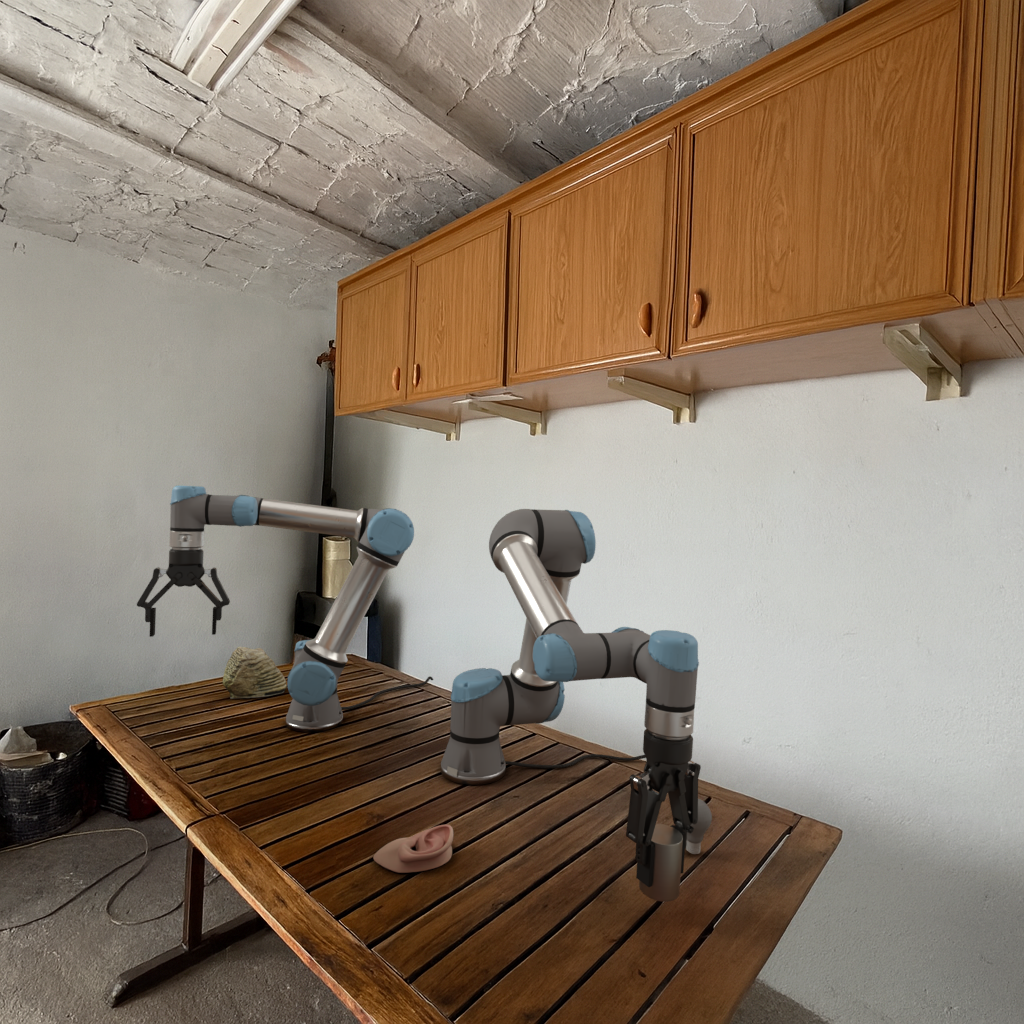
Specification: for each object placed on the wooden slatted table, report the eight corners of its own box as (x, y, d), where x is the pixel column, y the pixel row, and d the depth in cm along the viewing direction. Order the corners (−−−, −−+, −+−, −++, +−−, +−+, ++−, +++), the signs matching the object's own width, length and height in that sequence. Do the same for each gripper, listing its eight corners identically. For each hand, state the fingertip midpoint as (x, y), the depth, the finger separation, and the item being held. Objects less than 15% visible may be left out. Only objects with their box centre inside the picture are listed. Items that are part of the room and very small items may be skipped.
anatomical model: (366, 844, 109) (392, 812, 120) (365, 867, 109) (391, 833, 120) (440, 856, 106) (459, 823, 117) (439, 880, 106) (458, 844, 117)
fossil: (218, 695, 195) (220, 647, 195) (278, 685, 208) (279, 640, 207) (228, 703, 189) (230, 653, 188) (289, 692, 201) (290, 645, 201)
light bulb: (672, 843, 121) (674, 791, 121) (702, 843, 121) (705, 792, 121) (683, 861, 115) (685, 807, 115) (715, 861, 115) (717, 807, 115)
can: (648, 903, 97) (651, 846, 96) (633, 878, 103) (636, 824, 102) (686, 900, 98) (689, 844, 97) (669, 875, 104) (672, 822, 104)
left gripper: (124, 549, 147) (121, 639, 148) (241, 550, 156) (238, 635, 157) (131, 546, 154) (128, 632, 155) (242, 547, 163) (239, 629, 164)
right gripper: (641, 751, 91) (632, 908, 92) (728, 729, 101) (719, 870, 102) (606, 733, 97) (598, 880, 98) (691, 714, 108) (683, 847, 109)
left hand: (183, 634), depth 156 cm, fingers open, 13 cm apart
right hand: (660, 875), depth 100 cm, fingers closed on can, 6 cm apart
